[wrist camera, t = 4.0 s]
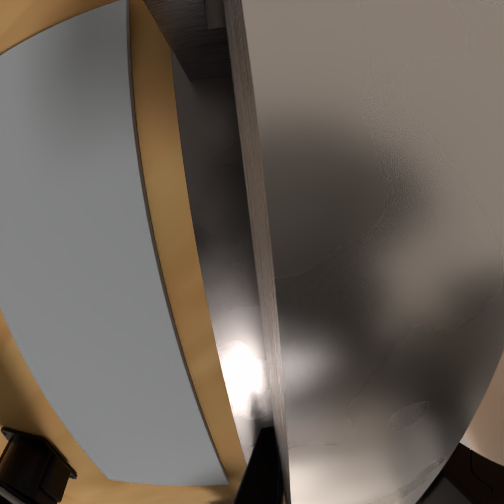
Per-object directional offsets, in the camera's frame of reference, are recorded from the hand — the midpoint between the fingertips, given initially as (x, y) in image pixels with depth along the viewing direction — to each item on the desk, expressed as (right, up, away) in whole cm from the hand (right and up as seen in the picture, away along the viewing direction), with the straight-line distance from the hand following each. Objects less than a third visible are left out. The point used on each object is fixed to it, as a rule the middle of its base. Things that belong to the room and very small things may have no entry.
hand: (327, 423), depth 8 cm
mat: (-11, +1, +6) cm, 13 cm away
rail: (0, 0, 0) cm, 0 cm away
